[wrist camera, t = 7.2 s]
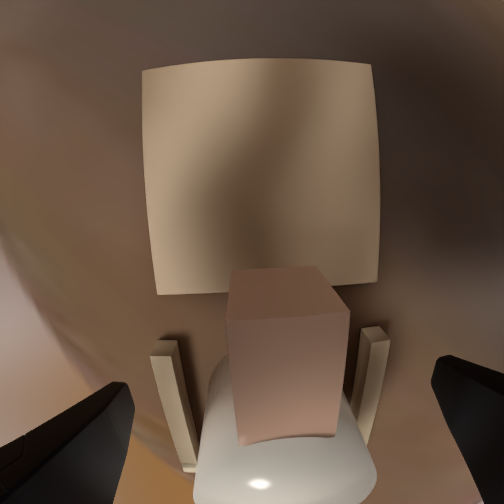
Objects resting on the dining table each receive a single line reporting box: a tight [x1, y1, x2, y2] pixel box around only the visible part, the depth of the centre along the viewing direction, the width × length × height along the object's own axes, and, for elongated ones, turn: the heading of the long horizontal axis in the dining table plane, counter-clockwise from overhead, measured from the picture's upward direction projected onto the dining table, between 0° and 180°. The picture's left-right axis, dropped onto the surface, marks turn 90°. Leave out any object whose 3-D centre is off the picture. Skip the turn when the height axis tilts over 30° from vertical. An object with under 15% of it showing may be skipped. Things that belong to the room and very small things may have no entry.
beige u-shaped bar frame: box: [150, 326, 391, 472], centre depth 15 cm, size 11×9×2 cm
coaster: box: [142, 58, 380, 295], centre depth 12 cm, size 10×10×1 cm
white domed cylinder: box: [193, 265, 377, 504], centre depth 11 cm, size 11×7×7 cm, turn 3°
